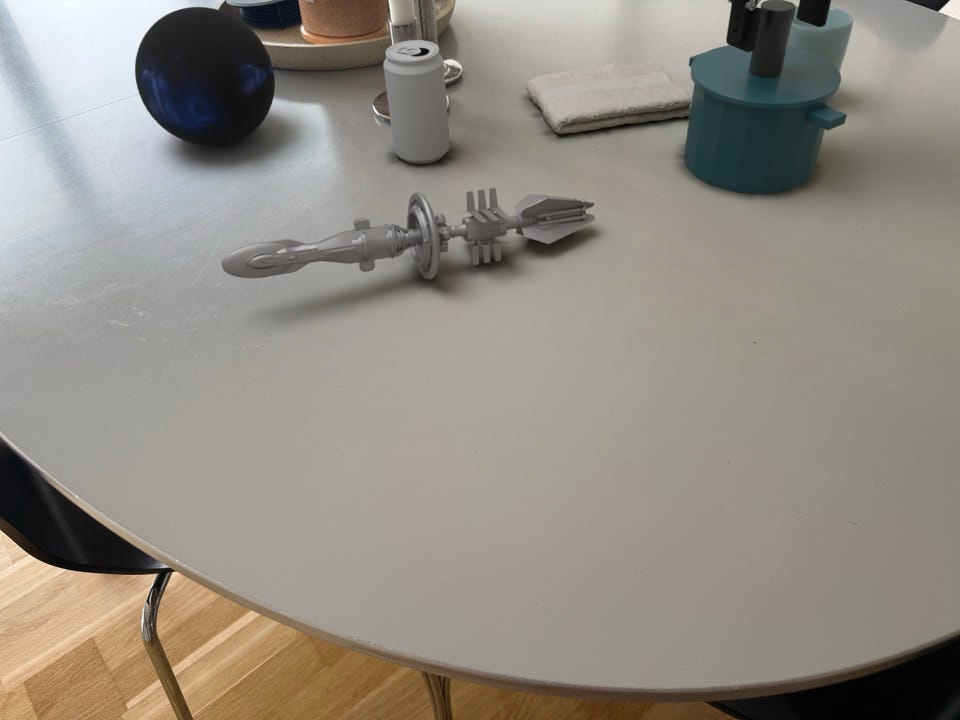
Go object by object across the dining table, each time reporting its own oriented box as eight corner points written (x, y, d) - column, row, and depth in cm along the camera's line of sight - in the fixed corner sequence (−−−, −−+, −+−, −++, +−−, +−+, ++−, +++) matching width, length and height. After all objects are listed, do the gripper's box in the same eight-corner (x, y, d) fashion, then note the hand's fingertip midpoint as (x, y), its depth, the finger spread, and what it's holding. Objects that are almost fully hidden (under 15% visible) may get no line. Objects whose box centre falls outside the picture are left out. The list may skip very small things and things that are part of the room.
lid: (759, 43, 91) (773, -30, 86) (870, 88, 81) (893, 9, 76) (659, 77, 85) (668, 1, 80) (765, 129, 76) (783, 47, 71)
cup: (805, 81, 103) (825, 0, 97) (844, 107, 98) (868, 22, 91) (751, 92, 102) (768, 10, 95) (788, 118, 96) (808, 33, 89)
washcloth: (697, 117, 97) (701, 92, 95) (554, 140, 95) (554, 115, 92) (657, 77, 106) (659, 54, 104) (524, 98, 103) (524, 74, 101)
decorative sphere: (143, 173, 93) (96, 41, 82) (176, 113, 104) (138, -10, 94) (276, 167, 92) (244, 33, 82) (294, 108, 104) (269, -16, 93)
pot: (729, 112, 98) (743, 33, 92) (861, 178, 86) (888, 91, 79) (642, 145, 93) (650, 63, 86) (769, 219, 81) (790, 131, 74)
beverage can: (437, 170, 90) (428, 64, 82) (385, 162, 92) (371, 57, 84) (458, 144, 95) (452, 40, 87) (408, 136, 97) (397, 35, 89)
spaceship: (209, 213, 71) (215, 226, 64) (571, 165, 82) (611, 172, 74) (226, 301, 73) (234, 323, 66) (575, 244, 84) (613, 257, 77)
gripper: (776, -147, 63) (740, 70, 74) (921, -180, 69) (866, 24, 81) (707, -160, 68) (683, 45, 79) (848, -191, 74) (806, 4, 86)
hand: (775, 34), depth 80 cm, fingers open, 9 cm apart
